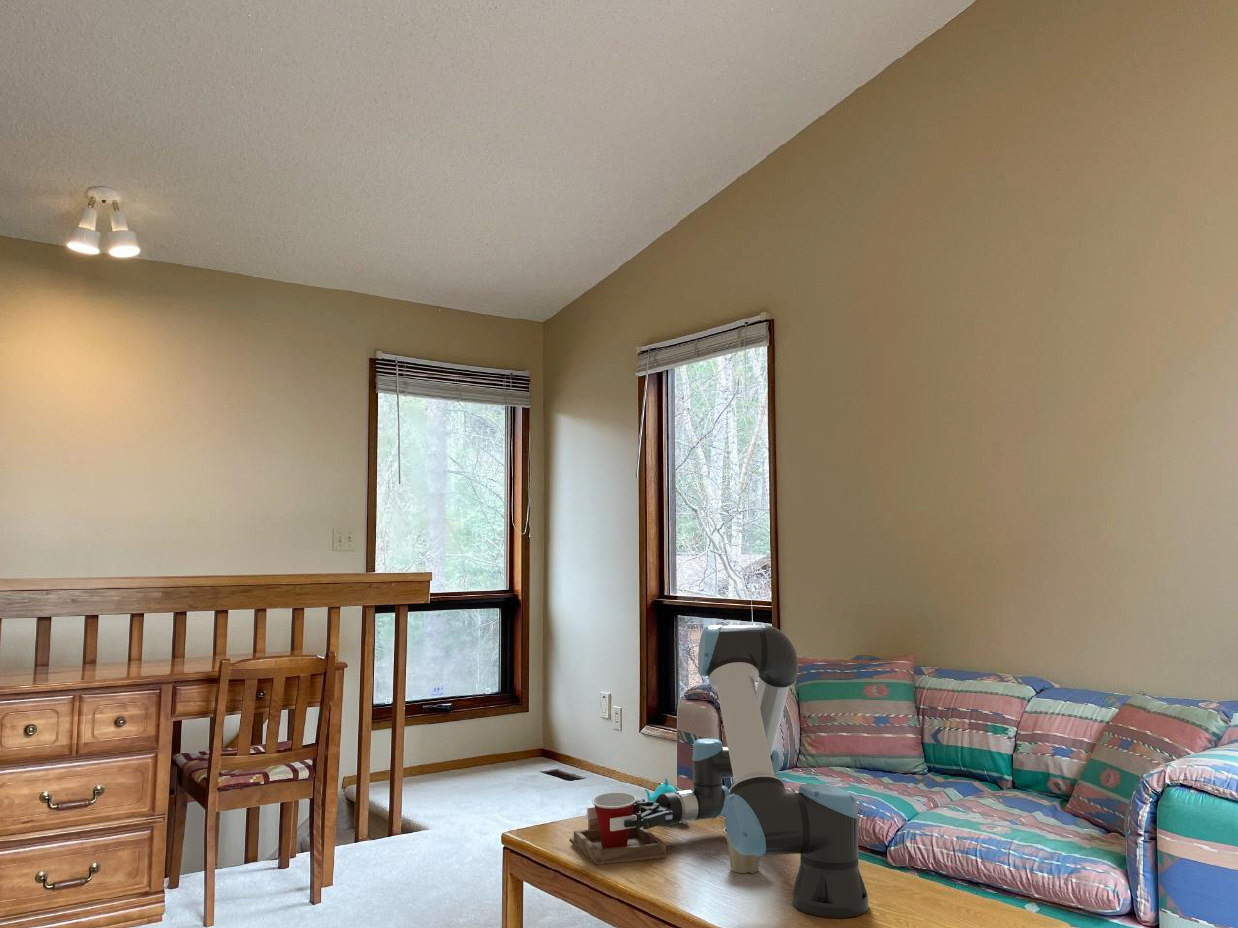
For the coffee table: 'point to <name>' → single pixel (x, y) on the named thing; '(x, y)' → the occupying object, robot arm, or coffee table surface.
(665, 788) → the toy shark
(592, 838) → the cup dock
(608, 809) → the plastic cup
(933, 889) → the coffee table surface
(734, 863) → the flower pot
